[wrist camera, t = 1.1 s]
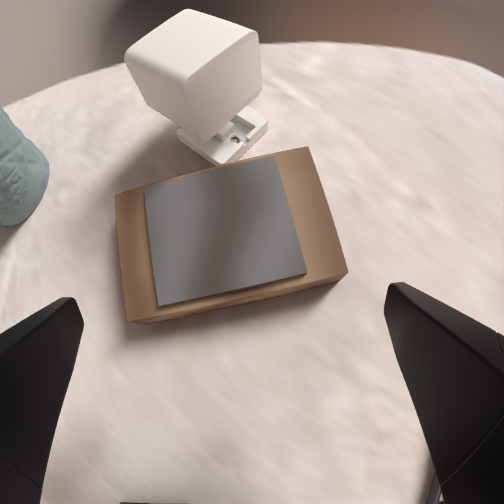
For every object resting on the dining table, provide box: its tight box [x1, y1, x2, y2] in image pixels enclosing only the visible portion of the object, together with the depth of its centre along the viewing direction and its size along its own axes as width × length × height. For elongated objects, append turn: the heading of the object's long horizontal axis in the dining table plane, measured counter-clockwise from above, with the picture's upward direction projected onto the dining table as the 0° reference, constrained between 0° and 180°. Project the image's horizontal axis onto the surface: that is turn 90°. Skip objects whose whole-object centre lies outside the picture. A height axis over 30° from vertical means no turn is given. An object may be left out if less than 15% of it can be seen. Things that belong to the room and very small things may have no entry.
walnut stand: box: [115, 146, 348, 324], centre depth 21 cm, size 14×9×4 cm, turn 102°
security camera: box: [124, 9, 268, 166], centre depth 21 cm, size 6×7×10 cm
